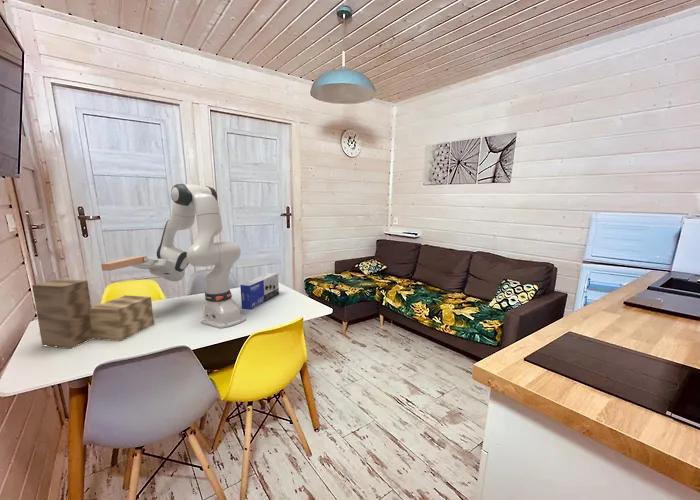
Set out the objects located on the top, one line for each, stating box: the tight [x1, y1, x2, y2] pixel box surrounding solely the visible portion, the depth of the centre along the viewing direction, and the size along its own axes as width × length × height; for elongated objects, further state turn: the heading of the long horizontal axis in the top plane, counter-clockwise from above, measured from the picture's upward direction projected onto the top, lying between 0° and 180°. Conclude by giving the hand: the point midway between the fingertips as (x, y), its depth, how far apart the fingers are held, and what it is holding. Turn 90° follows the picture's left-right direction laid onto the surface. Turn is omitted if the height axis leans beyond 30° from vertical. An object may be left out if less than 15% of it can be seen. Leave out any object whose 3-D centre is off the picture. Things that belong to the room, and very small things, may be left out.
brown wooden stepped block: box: [31, 278, 155, 349], centre depth 133 cm, size 27×28×26 cm
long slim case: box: [101, 255, 148, 272], centre depth 139 cm, size 20×4×3 cm, turn 172°
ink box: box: [239, 272, 280, 310], centre depth 181 cm, size 30×7×14 cm, turn 162°
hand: (138, 258), depth 146 cm, fingers closed on long slim case, 4 cm apart
